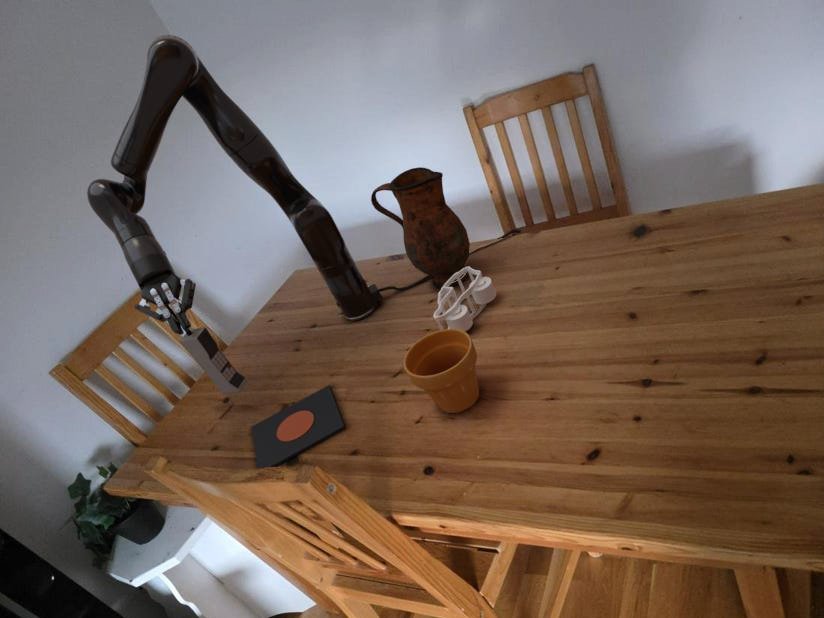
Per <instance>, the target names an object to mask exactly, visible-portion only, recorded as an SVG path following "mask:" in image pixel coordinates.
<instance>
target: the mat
mask: <svg viewBox="0 0 824 618" xmlns="http://www.w3.org/2000/svg"><path fill="white" fill-rule="evenodd" d="M344 430H346V426H345V422H344V420H343V418H342V414H341V412H340V409H339V406H338V404H337V400H336V398H335V396H334V392H333V389H332V387H331V386H330V385H329V384H328V385H326V386H324V387H323V388H321V389H319V390H316V391H315V392H314V393H311V394H310V395H308V396H306V397H304V398H302V399H300V400H299V401H297V402H294V403H293V404H291V405H290V406H287V407H286V408H284V409H282V410H280V411H278V412H276V413H274V414H273V415H271V416H269V417H266V418H265V419H264V420H260V422H258V423H256V424H254V425H252V426H251V431H252V439H253V444H254V445H253V446H254V452H255V458H256V466H257V469H258V468H264V467H274V466H276V467H278V466H280V465H282V464H284V463H285V462H288V461H289V460H291V459H293V458H294V457H296V456H299V455H300V454H302V453H304V452H305V451H307V450H309V449H311V448H313V447H315V446H317V445H318V444H321V443H322V442H324V441H325V440H328V439H329V438H331V437H333V436H335V435H337V434H338V433H340V432H342V431H344Z"/></svg>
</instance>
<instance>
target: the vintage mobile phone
mask: <svg viewBox="0 0 824 618" xmlns="http://www.w3.org/2000/svg"><path fill="white" fill-rule="evenodd" d="M169 305H170V304H169ZM169 305H168V304H165V307H166V308H167V309H168V310H169V311H170V313H171V314H172V315H173V316H174V317H175V319H176V320H177V321H178V323H179V324H180V322H179V320H178V318H177V317H176V314H177V313H176V312H175V310H174V309H172V307H171V306H170V307H171V308H170V307H169ZM180 326H181V324H180ZM181 328H182V326H181ZM179 343H180V345H181V346H182V347H183V348H184V349H185V350H186V351H187V353H188V354H189V355H190V356H191V357H192V359H193V360H194V361H195V362H196V363H197V365H198V366H199V368H201V369H202V370H203V372H204V373H205V374H206V375H207V376H208V378H209V379H210V381H212V382H213V384H214V385H215V386H216V387H217V388H218V389H219V391H220V392H221V393H222V394H224V395H229V394H237V393H241V392H242V391H243V389H244V387H246V385H247V383H248V379H247V377H246V376H244V375H242V374H241V373H239V372H238V371H237V370H236V368H235V367H234V365H233V364H231V362H230V361H229V360H228V358H227V356H225V354H224V353H223V352H222V350H221V349H220V348H219V346H218V343H217V341H216V340H215V339H214V337H213V335H212V334H211V333H210V332H209V330H208V328H207V327H206V326H203V327H197V328H192V329H191V328H190V331H188V332H187V331H184V334H183V336H182V337H181V338H180V340H179Z"/></svg>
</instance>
